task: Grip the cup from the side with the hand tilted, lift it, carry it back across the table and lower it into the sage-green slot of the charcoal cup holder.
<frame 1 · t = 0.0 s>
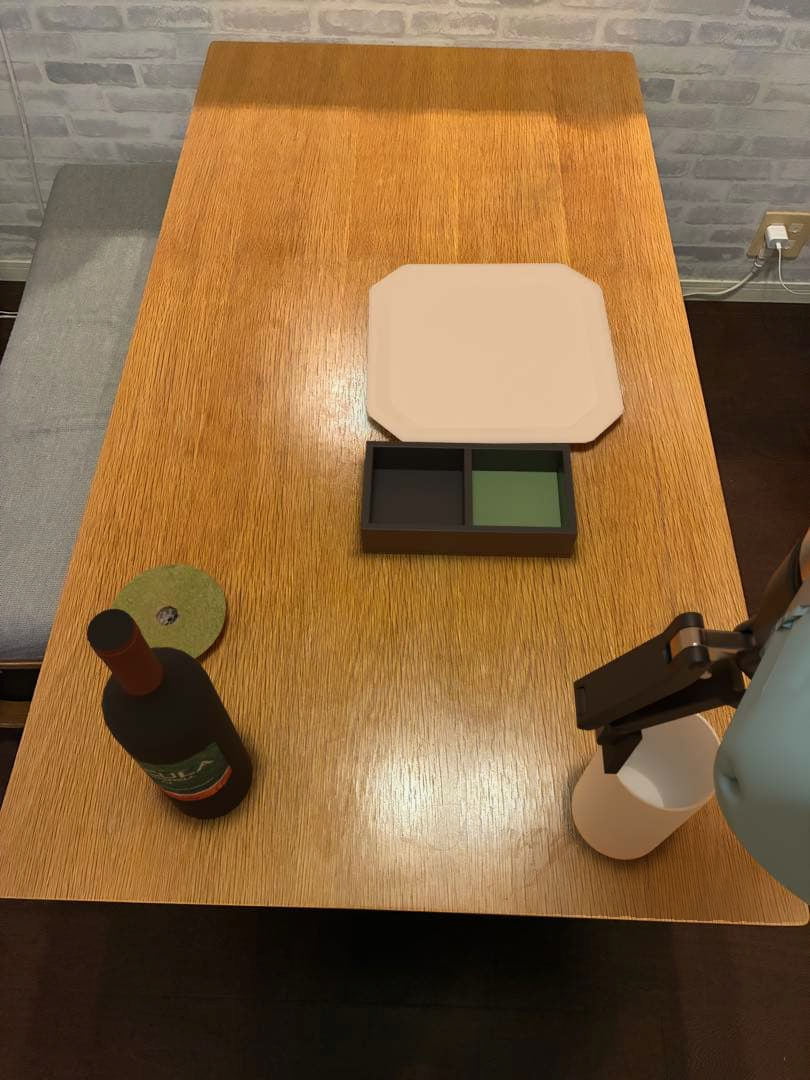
hand: (720, 755, 52), 25 cm above the table, tool pointing down, fingers open, 13 cm apart
holder: (465, 510, 91), on the table
cup: (618, 810, 74), on the table
plate: (488, 359, 102), on the table
mat: (172, 623, 84), on the table
wine bottle: (210, 777, 76), on the table
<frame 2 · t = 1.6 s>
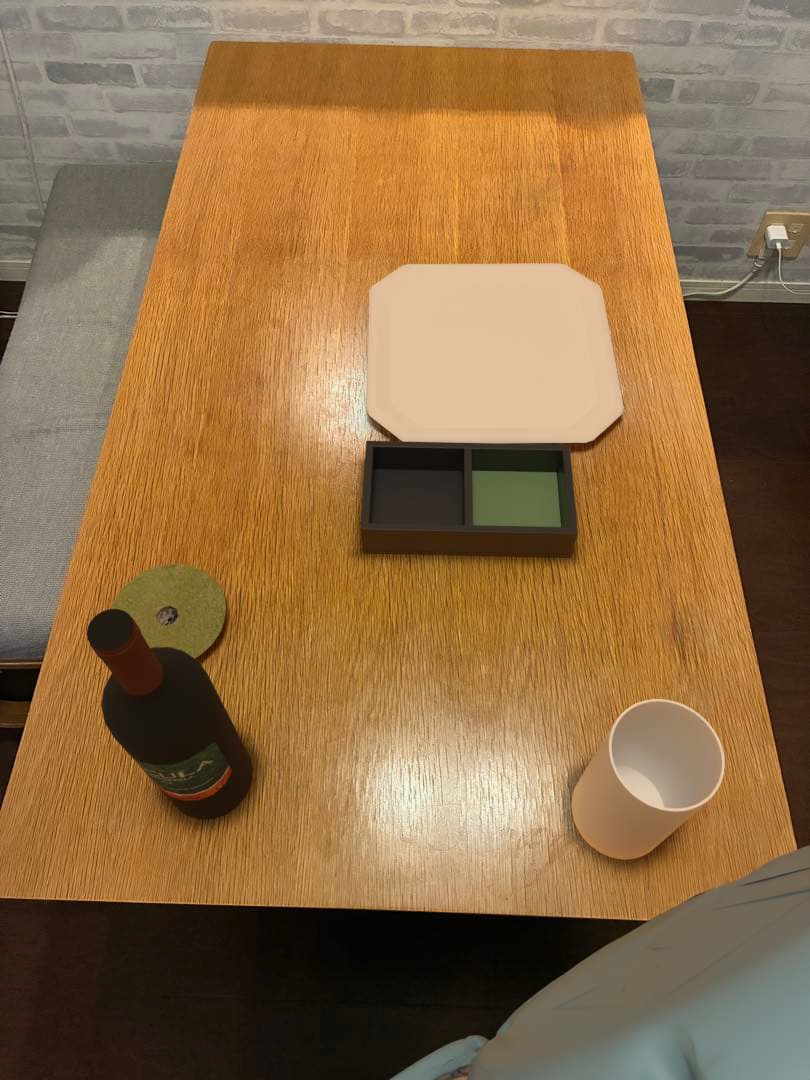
nothing on the table moved.
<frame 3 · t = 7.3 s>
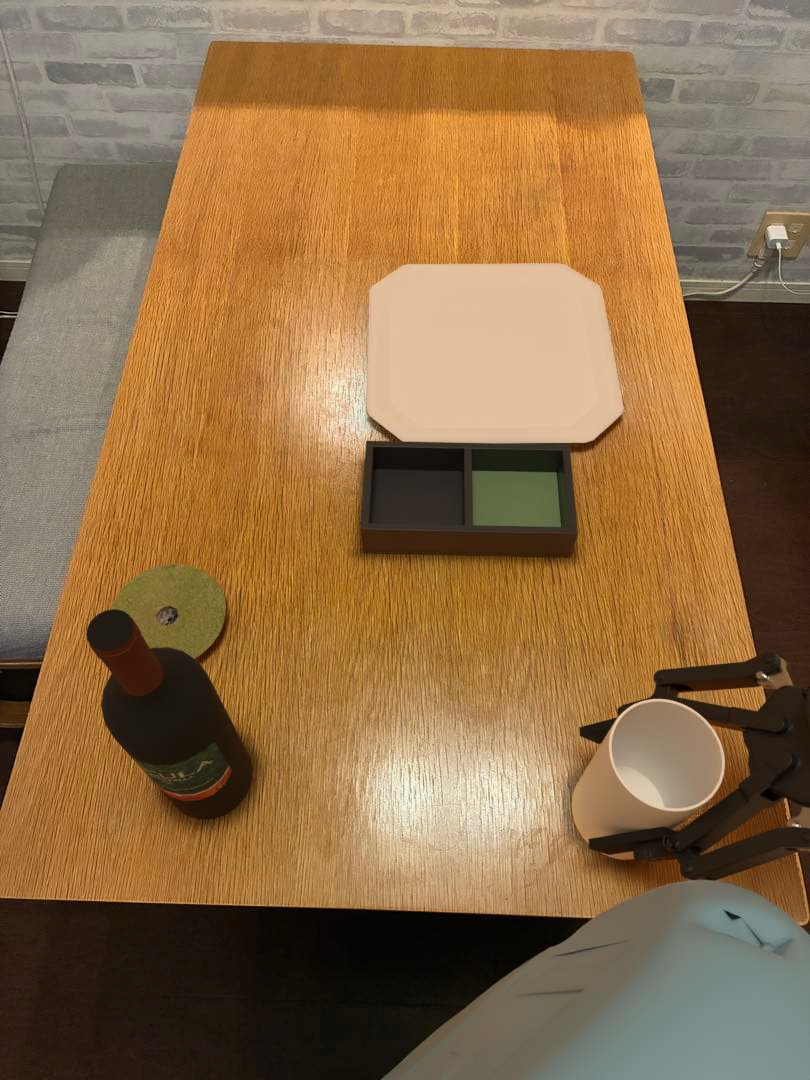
hand: (594, 789, 69), 6 cm above the table, tool tilted 45°, fingers closed on cup, 8 cm apart
cup: (618, 810, 74), on the table, touching gripper
everything else where it was.
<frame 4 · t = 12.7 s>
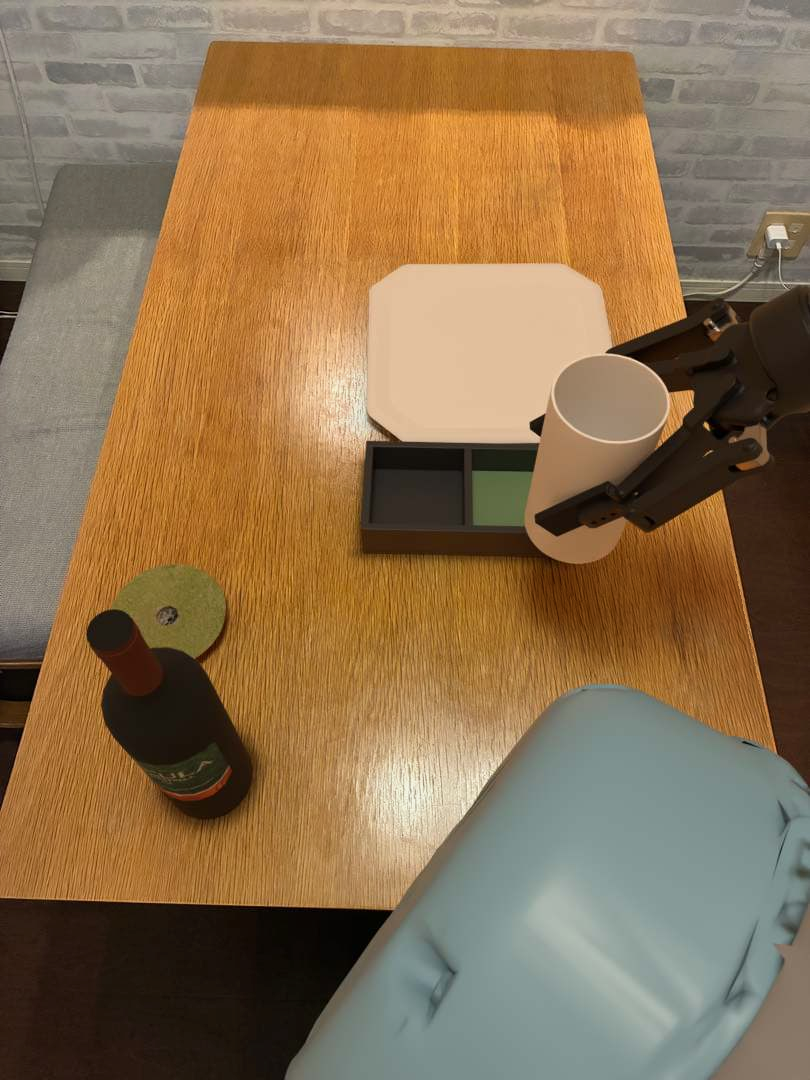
hand: (542, 478, 67), 21 cm above the table, tool tilted 45°, fingers closed on cup, 8 cm apart
cup: (572, 523, 73), point 14 cm above the table, touching gripper
everything else where it was.
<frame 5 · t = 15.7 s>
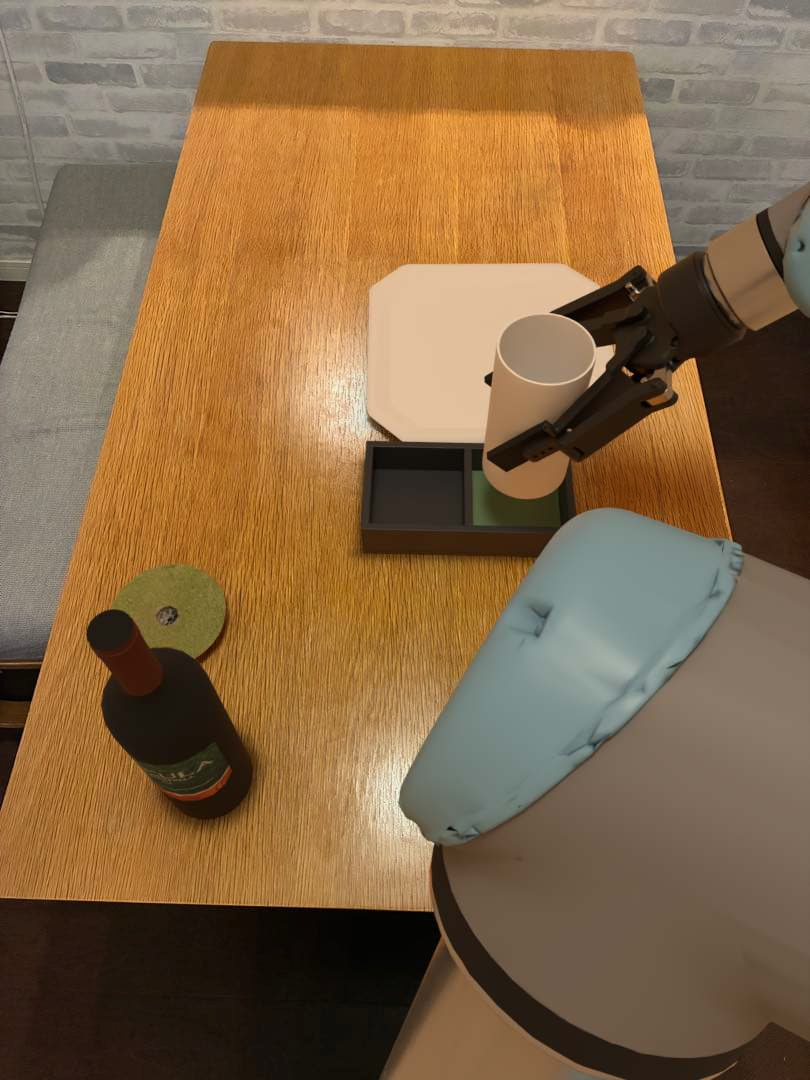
hand: (495, 423, 78), 15 cm above the table, tool tilted 45°, fingers closed on cup, 8 cm apart
cup: (523, 465, 84), point 8 cm above the table, touching gripper
everything else where it was.
when the fingers open (7 cm above the table, at t = 18.2 s): cup stays where it is, resting on holder.
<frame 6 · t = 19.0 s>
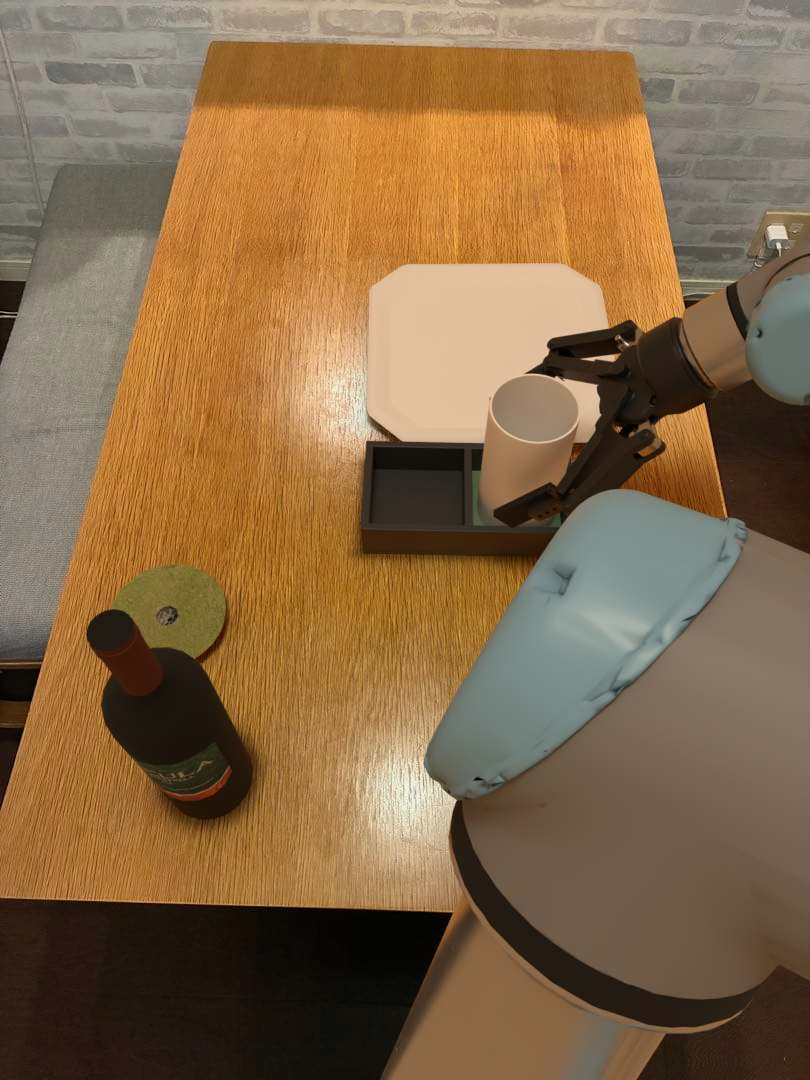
hand: (500, 461, 83), 9 cm above the table, tool tilted 45°, fingers open, 13 cm apart
cup: (515, 508, 90), point 1 cm above the table, touching holder
everything else where it was.
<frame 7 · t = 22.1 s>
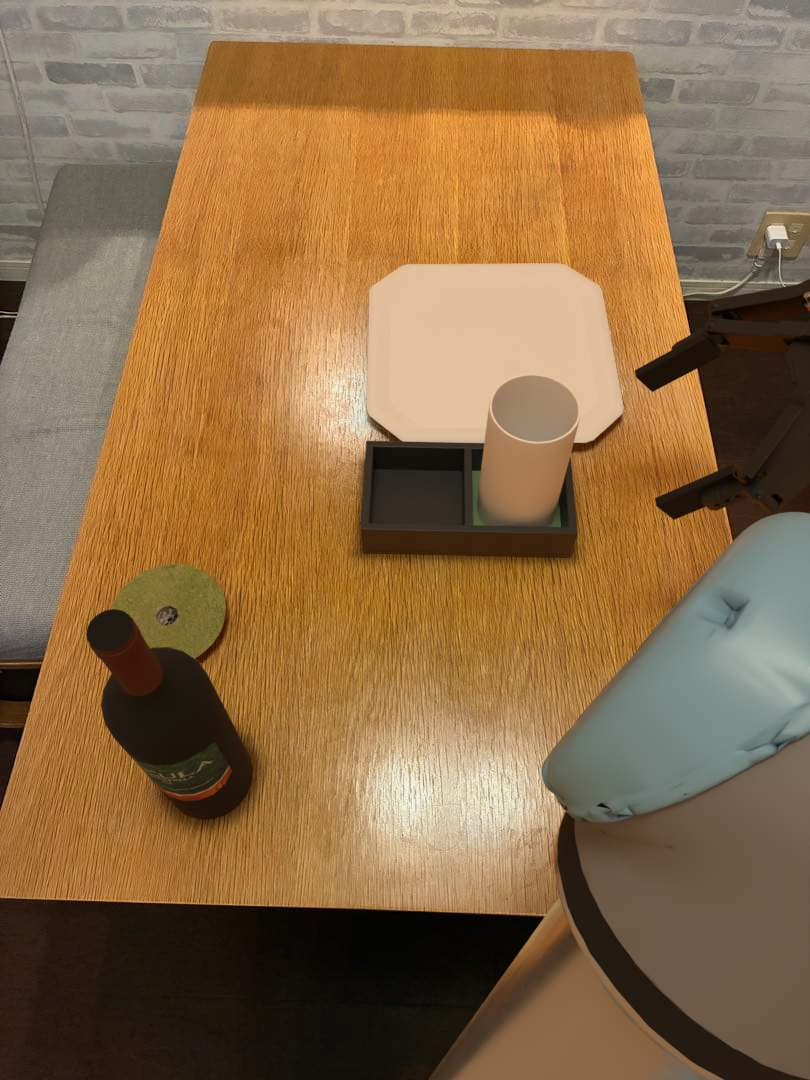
hand: (652, 442, 71), 19 cm above the table, tool tilted 45°, fingers open, 13 cm apart
nothing on the table moved.
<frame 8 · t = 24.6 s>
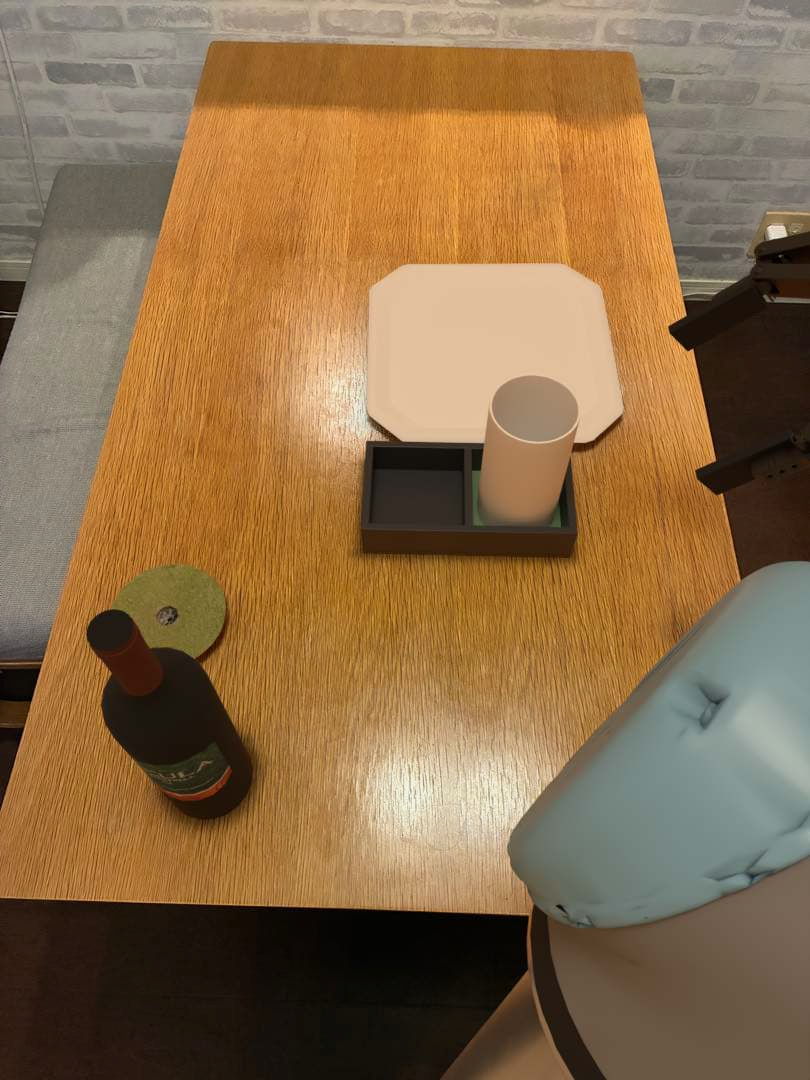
hand: (690, 407, 62), 28 cm above the table, tool tilted 45°, fingers open, 13 cm apart
nothing on the table moved.
at the end: cup 0.0 cm from the target spot in the holder, point 0.6 cm above the holder's base; cup tilted 0°; the gripper is holding nothing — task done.
